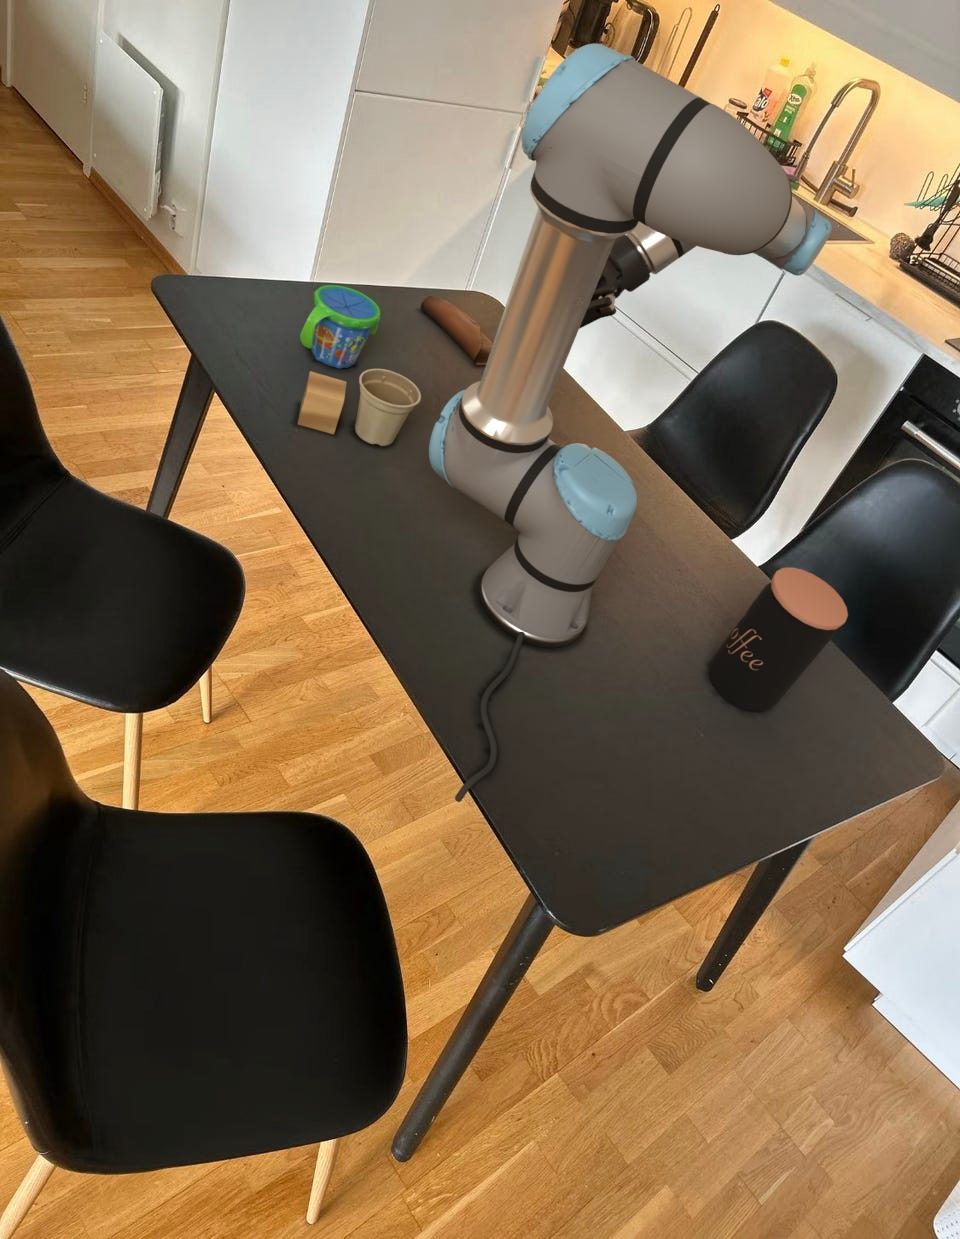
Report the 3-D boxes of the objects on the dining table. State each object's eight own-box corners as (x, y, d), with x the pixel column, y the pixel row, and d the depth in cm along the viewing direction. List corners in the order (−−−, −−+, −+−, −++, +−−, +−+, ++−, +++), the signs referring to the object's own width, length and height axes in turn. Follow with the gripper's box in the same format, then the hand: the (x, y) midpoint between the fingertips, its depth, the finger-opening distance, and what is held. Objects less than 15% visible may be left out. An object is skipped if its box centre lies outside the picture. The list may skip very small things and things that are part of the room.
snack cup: (349, 335, 168) (365, 281, 162) (387, 370, 164) (405, 316, 158) (275, 344, 158) (289, 286, 151) (313, 381, 154) (329, 324, 147)
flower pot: (410, 431, 153) (427, 385, 148) (396, 461, 146) (413, 414, 141) (353, 408, 152) (368, 360, 147) (337, 437, 145) (352, 388, 140)
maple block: (334, 434, 145) (344, 401, 142) (297, 424, 144) (306, 390, 140) (336, 414, 149) (346, 381, 146) (300, 404, 148) (310, 370, 144)
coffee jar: (700, 649, 140) (766, 557, 128) (766, 669, 142) (837, 580, 130) (710, 704, 132) (782, 611, 120) (780, 724, 134) (857, 635, 122)
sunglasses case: (508, 361, 181) (505, 334, 175) (477, 380, 179) (474, 353, 173) (452, 307, 188) (448, 280, 183) (422, 325, 187) (417, 298, 181)
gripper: (666, 295, 138) (527, 392, 142) (629, 252, 146) (498, 345, 151) (648, 256, 132) (503, 358, 137) (610, 213, 141) (475, 311, 145)
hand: (501, 351), depth 144 cm, fingers closed
